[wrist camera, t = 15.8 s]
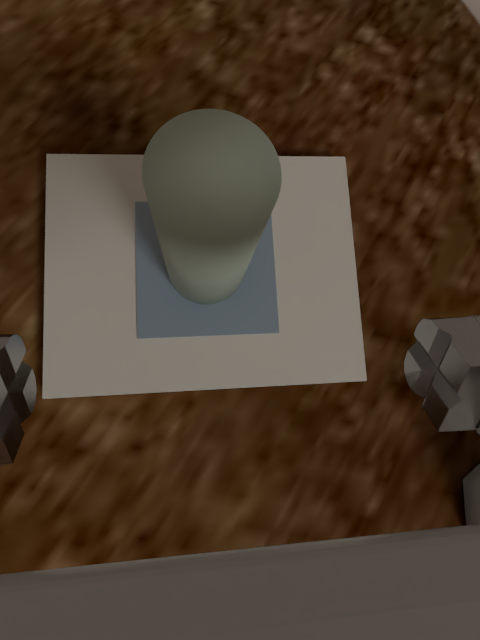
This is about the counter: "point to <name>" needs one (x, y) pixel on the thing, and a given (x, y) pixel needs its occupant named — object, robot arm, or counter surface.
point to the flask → (472, 496)
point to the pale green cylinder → (210, 198)
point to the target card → (181, 314)
